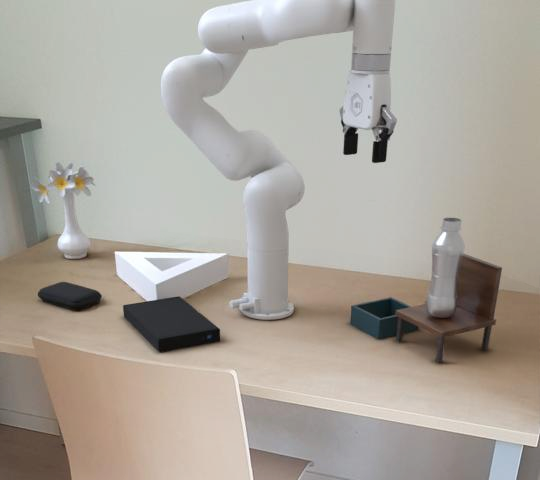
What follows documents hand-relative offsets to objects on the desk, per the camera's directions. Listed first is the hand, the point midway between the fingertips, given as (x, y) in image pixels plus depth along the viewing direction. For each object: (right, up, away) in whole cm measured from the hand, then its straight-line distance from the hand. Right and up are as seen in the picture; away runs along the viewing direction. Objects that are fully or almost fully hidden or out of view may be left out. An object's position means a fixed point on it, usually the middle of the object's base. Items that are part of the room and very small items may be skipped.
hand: (364, 158), depth 161 cm
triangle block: (-49, -15, +44) cm, 68 cm away
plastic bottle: (+17, -31, +6) cm, 36 cm away
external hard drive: (-42, -32, +17) cm, 55 cm away
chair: (+18, -37, +10) cm, 42 cm away
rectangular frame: (+7, -31, +19) cm, 37 cm away
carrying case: (-68, -22, +32) cm, 78 cm away
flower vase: (-75, -3, +63) cm, 98 cm away
